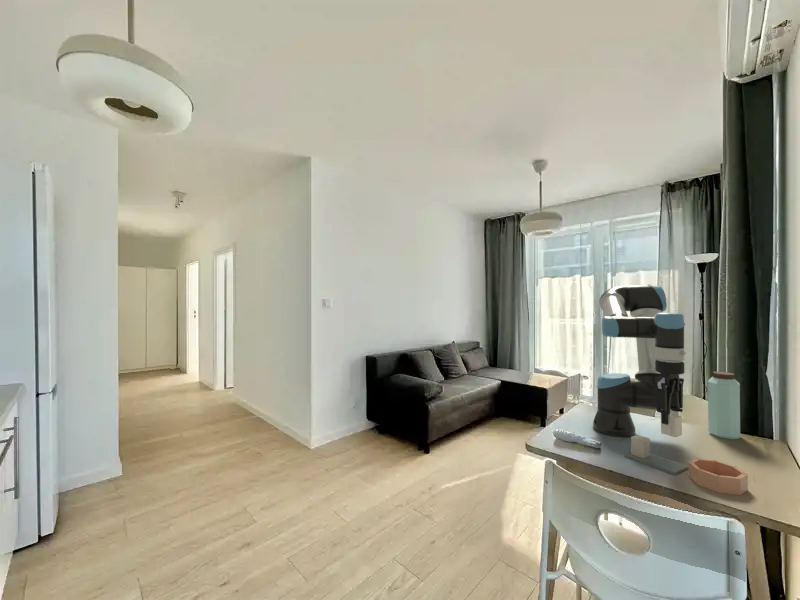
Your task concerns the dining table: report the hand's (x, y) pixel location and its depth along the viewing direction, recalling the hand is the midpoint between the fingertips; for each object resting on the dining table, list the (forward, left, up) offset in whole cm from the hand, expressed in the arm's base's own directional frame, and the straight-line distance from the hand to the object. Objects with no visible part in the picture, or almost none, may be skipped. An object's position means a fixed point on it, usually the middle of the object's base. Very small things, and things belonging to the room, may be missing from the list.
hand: (670, 432), depth 114 cm
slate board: (-4, 0, -12) cm, 12 cm away
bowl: (+12, +1, -12) cm, 16 cm away
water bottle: (-3, +49, -12) cm, 50 cm away
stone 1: (-9, 0, -11) cm, 14 cm away
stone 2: (0, 0, -1) cm, 1 cm away
